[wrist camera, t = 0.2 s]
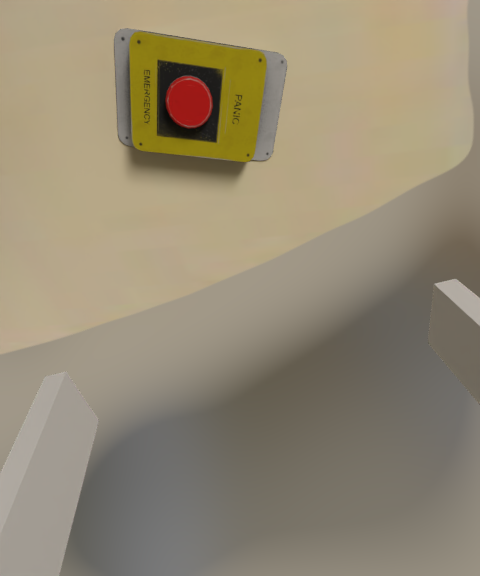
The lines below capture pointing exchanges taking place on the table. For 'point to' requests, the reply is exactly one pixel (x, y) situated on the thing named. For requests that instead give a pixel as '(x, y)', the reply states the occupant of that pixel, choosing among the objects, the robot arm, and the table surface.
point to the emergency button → (197, 96)
